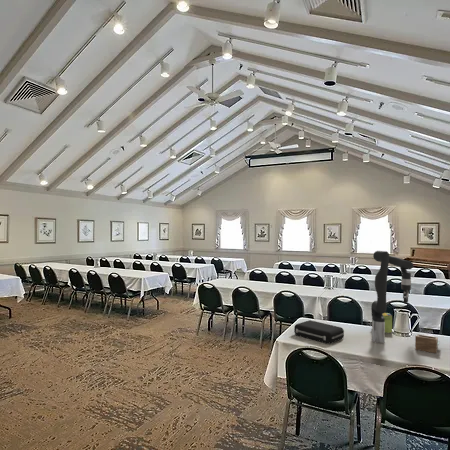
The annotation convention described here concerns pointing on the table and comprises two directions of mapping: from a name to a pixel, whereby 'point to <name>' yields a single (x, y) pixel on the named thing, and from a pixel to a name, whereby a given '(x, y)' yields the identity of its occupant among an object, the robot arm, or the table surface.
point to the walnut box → (426, 343)
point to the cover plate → (431, 336)
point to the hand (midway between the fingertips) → (405, 302)
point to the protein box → (387, 322)
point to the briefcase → (319, 331)
